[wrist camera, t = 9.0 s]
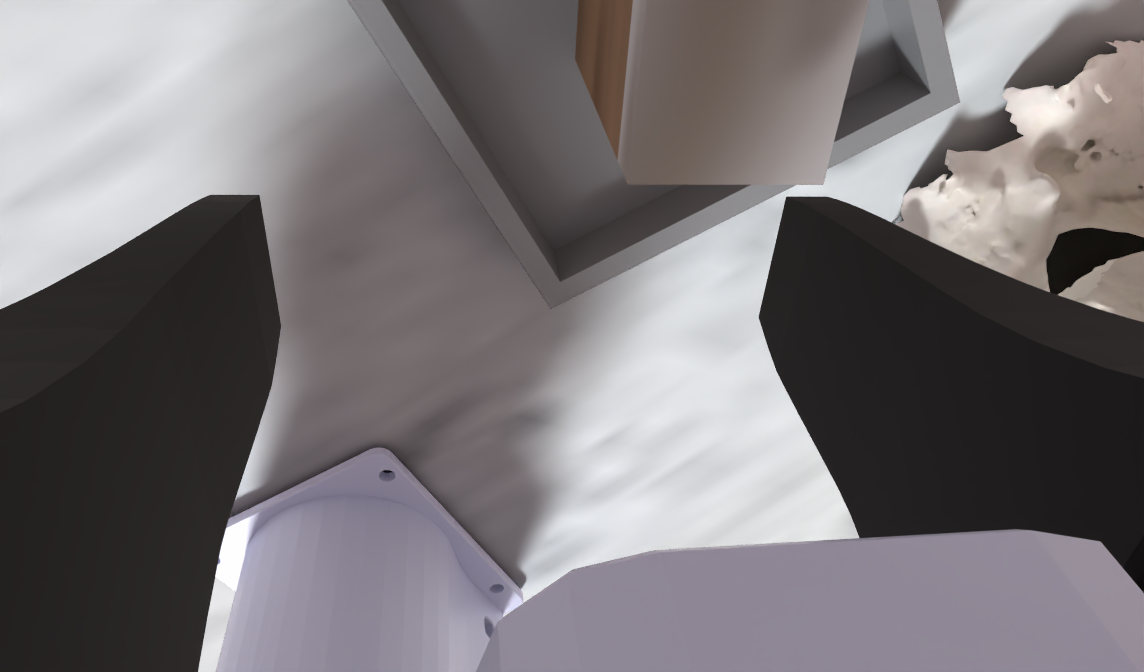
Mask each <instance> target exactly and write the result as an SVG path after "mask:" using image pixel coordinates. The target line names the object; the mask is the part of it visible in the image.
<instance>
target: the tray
mask: <svg viewBox="0 0 1144 672" xmlns="http://www.w3.org/2000/svg"><path fill="white" fill-rule="evenodd" d="M347 1H348V2H349V4H350V5H351V7H352V8H353V10H354V11H355V13H356V14H357V16H358V17H359V19H360V20H361V22H362V23H363V25H364V26H365V28H366V29H367V31H368V32H369V34H370V35H371V37H372V38H373V40H374V42H375V43H376V45H377V46H378V48H379V49H380V51H381V52H382V54H383V55H384V57H385V58H386V60H387V61H388V63H389V64H390V66H391V67H392V69H393V70H394V72H395V73H396V75H397V76H398V78H399V79H400V81H401V82H402V84H403V86H404V87H405V89H406V90H407V92H408V93H409V95H410V96H411V98H412V99H413V101H414V102H415V104H416V105H417V107H418V108H419V110H420V111H421V113H422V114H423V116H424V117H425V119H426V120H427V122H428V123H429V125H430V126H431V128H432V130H433V131H434V133H435V134H436V136H437V137H438V139H439V140H440V142H441V143H442V145H443V146H444V148H445V149H446V151H447V152H448V154H449V155H450V157H451V158H452V160H453V161H454V163H455V164H456V166H457V167H458V169H459V170H460V172H461V174H462V175H463V177H464V178H465V180H466V181H467V183H468V184H469V186H470V187H471V189H472V190H473V192H474V193H475V195H476V196H477V198H478V199H479V201H480V202H481V204H482V205H483V207H484V208H485V210H486V211H487V213H488V214H489V216H490V218H491V219H492V221H493V222H494V224H495V225H496V227H497V228H498V230H499V231H500V233H501V234H502V236H503V237H504V239H505V240H506V242H507V243H508V245H509V246H510V248H511V249H512V251H513V252H514V254H515V255H516V257H517V258H518V260H519V262H520V263H521V265H522V266H523V268H524V269H525V271H526V272H527V274H528V275H529V277H530V278H531V280H532V281H533V283H534V284H535V286H536V287H537V289H538V290H539V292H540V293H541V295H542V296H543V298H544V299H545V301H546V302H547V304H548V306H549V307H550V309H551V308H553V307H555V306H557V305H559V304H561V303H563V302H565V301H567V300H569V299H571V298H573V297H575V296H577V295H579V294H581V293H583V292H585V291H587V290H589V289H591V288H593V287H595V286H597V285H599V284H601V283H603V282H605V281H607V280H609V279H611V278H613V277H615V276H617V275H619V274H621V273H623V272H625V271H627V270H629V269H631V268H633V267H634V266H636V265H638V264H640V263H642V262H644V261H646V260H648V259H650V258H652V257H654V256H656V255H658V254H660V253H662V252H664V251H666V250H668V249H670V248H672V247H674V246H676V245H678V244H680V243H682V242H684V241H686V240H688V239H690V238H692V237H694V236H696V235H698V234H700V233H702V232H704V231H706V230H708V229H710V228H712V227H714V226H716V225H718V224H720V223H722V222H724V221H726V220H728V219H730V218H732V217H734V216H736V215H738V214H740V213H742V212H744V211H746V210H747V209H749V208H751V207H753V206H755V205H757V204H759V203H761V202H763V201H765V200H767V199H769V198H771V197H773V196H775V195H777V194H779V193H781V192H783V191H785V190H787V189H789V188H791V187H793V186H795V185H628V184H627V182H626V180H625V177H624V175H623V173H622V170H621V168H620V165H619V163H618V161H617V158H616V156H615V153H614V151H613V149H612V146H611V144H610V142H609V139H608V137H607V134H606V132H605V130H604V127H603V125H602V123H601V120H600V118H599V115H598V113H597V111H596V108H595V106H594V103H593V101H592V99H591V96H590V94H589V92H588V89H587V87H586V84H585V82H584V80H583V77H582V75H581V73H580V70H579V68H578V65H577V63H576V61H575V51H576V35H577V18H578V1H579V0H347ZM958 103H960V100H959V95H958V91H957V86H956V82H955V77H954V73H953V68H952V64H951V59H950V55H949V51H948V46H947V42H946V37H945V33H944V28H943V24H942V19H941V15H940V10H939V6H938V1H937V0H869V4H868V8H867V12H866V16H865V20H864V24H863V28H862V32H861V36H860V40H859V44H858V48H857V52H856V56H855V60H854V64H853V68H852V72H851V76H850V80H849V84H848V88H847V92H846V96H845V100H844V104H843V108H842V112H841V116H840V120H839V124H838V128H837V132H836V136H835V140H834V144H833V148H832V152H831V156H830V160H829V163H828V167H827V169H829V168H831V167H833V166H835V165H837V164H839V163H841V162H843V161H845V160H847V159H849V158H851V157H853V156H855V155H857V154H859V153H861V152H862V151H864V150H866V149H868V148H870V147H872V146H874V145H876V144H878V143H880V142H882V141H884V140H886V139H888V138H890V137H892V136H894V135H896V134H898V133H900V132H902V131H904V130H906V129H908V128H910V127H912V126H914V125H916V124H918V123H920V122H922V121H924V120H926V119H928V118H930V117H932V116H934V115H936V114H938V113H940V112H942V111H944V110H946V109H948V108H950V107H952V106H954V105H956V104H958Z"/></svg>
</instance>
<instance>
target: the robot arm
mask: <svg viewBox="0 0 1144 672" xmlns="http://www.w3.org/2000/svg"><path fill="white" fill-rule="evenodd" d="M759 320H760V323H761V326H762V329H763V332H764V336H765V339H766V342H767V345H768V348H769V351H770V354H771V357H772V360H773V362H774V365H775V368H776V371H777V373H778V375H779V377H780V379H781V381H782V383H783V385H784V387H785V389H786V391H787V393H788V395H789V396H790V398H791V400H792V402H793V404H794V406H795V408H796V410H797V412H798V414H799V416H800V418H801V419H802V421H803V423H804V425H805V427H806V429H807V431H808V432H809V434H810V436H811V438H812V440H813V442H814V444H815V446H816V447H817V449H818V451H819V453H820V455H821V457H822V459H823V461H824V462H825V464H826V466H827V468H828V470H829V472H830V474H831V476H832V477H833V479H834V481H835V483H836V485H837V487H838V489H839V491H840V493H841V495H842V497H843V499H844V502H845V504H846V506H847V508H848V510H849V512H850V514H851V517H852V519H853V522H854V524H855V527H856V530H857V532H858V535H859V537H860V538H857V539H840V540H823V541H806V542H789V543H772V544H754V545H737V546H720V547H703V548H686V549H669V550H654V551H649V552H645V553H641V554H637V555H632V556H628V557H624V558H620V559H615V560H611V561H607V562H603V563H599V564H594V565H590V566H586V567H582V568H577V569H573V570H571V571H570V572H568V573H567V574H565V575H564V576H562V577H561V578H560V579H558V580H557V581H555V582H554V583H552V584H551V585H549V586H548V587H546V588H545V589H544V590H542V591H541V592H539V593H538V594H536V595H535V596H533V597H532V598H530V599H529V600H527V601H526V602H525V603H523V593H522V591H521V589H520V588H519V587H518V586H517V585H516V584H515V583H514V582H513V581H512V580H511V579H510V578H509V577H508V576H507V575H506V573H505V572H504V571H503V570H502V569H501V568H500V567H499V566H498V565H497V564H496V563H495V562H494V561H493V560H492V559H491V557H490V556H489V555H488V554H487V553H486V552H485V551H484V550H483V549H482V548H481V547H480V546H479V545H478V544H477V543H476V542H475V540H474V539H473V538H472V537H471V536H470V535H469V534H468V533H467V532H466V531H465V530H464V529H463V528H462V527H461V526H460V525H459V523H458V522H457V521H456V520H455V519H454V518H453V517H452V516H451V515H450V514H449V513H448V512H447V511H446V510H445V509H444V507H443V506H442V505H441V504H440V503H439V502H438V501H437V500H436V499H435V498H434V497H433V496H432V495H431V494H430V493H429V492H428V490H427V489H426V488H425V487H424V486H423V485H422V484H421V483H420V482H419V481H418V480H417V479H416V478H415V477H414V476H413V475H412V473H411V472H410V471H409V470H408V469H407V468H406V467H405V466H404V465H403V464H402V463H401V462H400V461H399V460H398V459H397V457H396V456H395V455H394V454H393V453H392V452H390V451H389V450H388V449H384V448H373V449H369V450H367V451H365V452H363V453H361V454H359V455H357V456H355V457H353V458H351V459H349V460H347V461H345V462H343V463H341V464H339V465H337V466H335V467H333V468H331V469H329V470H327V471H325V472H323V473H321V474H319V475H317V476H315V477H313V478H311V479H309V480H306V481H304V482H302V483H300V484H298V485H296V486H294V487H292V488H290V489H288V490H286V491H284V492H282V493H280V494H278V495H276V496H274V497H272V498H270V499H268V500H266V501H264V502H262V503H260V504H258V505H256V506H254V507H252V508H250V509H248V510H245V511H243V512H241V513H239V514H237V515H235V516H233V517H231V518H229V516H230V513H231V510H232V507H233V504H234V501H235V498H236V495H237V492H238V489H239V486H240V483H241V479H242V476H243V473H244V470H245V467H246V464H247V461H248V458H249V455H250V452H251V449H252V446H253V443H254V440H255V437H256V434H257V431H258V427H259V424H260V421H261V418H262V415H263V412H264V409H265V405H266V402H267V399H268V396H269V392H270V389H271V386H272V381H273V375H274V369H275V363H276V357H277V350H278V343H279V336H280V329H281V323H280V317H279V311H278V305H277V299H276V293H275V287H274V281H273V275H272V269H271V262H270V256H269V250H268V244H267V238H266V232H265V226H264V220H263V214H262V208H261V202H260V196H259V195H209V196H207V197H204V198H202V199H200V200H198V201H196V202H194V203H192V204H190V205H189V206H187V207H185V208H183V209H182V210H180V211H178V212H177V213H175V214H173V215H172V216H170V217H168V218H167V219H165V220H164V221H162V222H160V223H159V224H157V225H155V226H154V227H152V228H150V229H149V230H147V231H146V232H144V233H142V234H141V235H139V236H137V237H136V238H134V239H132V240H131V241H129V242H127V243H126V244H124V245H123V246H121V247H119V248H118V249H116V250H114V251H113V252H111V253H109V254H107V255H106V256H104V257H102V258H100V259H98V260H96V261H95V262H93V263H91V264H89V265H87V266H85V267H84V268H82V269H80V270H78V271H76V272H74V273H73V274H71V275H69V276H67V277H65V278H63V279H62V280H60V281H58V282H56V283H54V284H52V285H51V286H49V287H47V288H45V289H43V290H41V291H39V292H37V293H35V294H33V295H31V296H29V297H26V298H24V299H22V300H20V301H18V302H16V303H14V304H11V305H9V306H7V307H5V308H2V309H0V672H198V668H199V662H200V656H201V650H202V645H203V639H204V633H205V628H206V622H207V616H208V611H209V606H210V601H211V596H212V591H213V585H214V580H215V576H216V577H217V578H218V579H220V580H221V581H222V582H224V583H225V584H226V585H228V586H229V587H230V588H231V589H233V590H234V591H235V596H234V600H233V604H232V608H231V612H230V616H229V620H228V624H227V628H226V632H225V636H224V640H223V644H222V648H221V652H220V656H219V660H218V664H217V668H216V672H1144V322H1141V321H1138V320H1134V319H1130V318H1127V317H1124V316H1120V315H1117V314H1114V313H1110V312H1107V311H1104V310H1100V309H1097V308H1094V307H1091V306H1088V305H1085V304H1083V303H1080V302H1077V301H1074V300H1071V299H1068V298H1065V297H1062V296H1059V295H1056V294H1053V293H1051V292H1048V291H1045V290H1042V289H1040V288H1037V287H1034V286H1032V285H1029V284H1026V283H1024V282H1021V281H1019V280H1016V279H1014V278H1012V277H1009V276H1007V275H1005V274H1002V273H1000V272H997V271H995V270H993V269H990V268H988V267H986V266H983V265H981V264H979V263H976V262H974V261H972V260H970V259H967V258H965V257H963V256H961V255H959V254H956V253H954V252H952V251H950V250H948V249H946V248H943V247H941V246H939V245H937V244H935V243H933V242H931V241H929V240H927V239H924V238H922V237H920V236H918V235H916V234H914V233H912V232H910V231H908V230H906V229H904V228H902V227H899V226H897V225H895V224H893V223H891V222H889V221H887V220H885V219H883V218H881V217H878V216H876V215H874V214H872V213H870V212H867V211H865V210H863V209H860V208H858V207H856V206H853V205H851V204H848V203H846V202H843V201H840V200H837V199H833V198H830V197H786V200H785V205H784V209H783V213H782V218H781V222H780V226H779V231H778V235H777V239H776V244H775V248H774V253H773V257H772V261H771V266H770V270H769V274H768V279H767V283H766V288H765V292H764V296H763V301H762V305H761V309H760V314H759ZM384 470H391V471H393V472H391V473H384V472H382V471H384ZM495 584H497V585H495ZM522 603H523V604H522ZM521 604H522V605H521ZM512 610H513V611H512ZM509 611H511V612H510V613H509V614H507V615H506V616H505V617H503V614H505V613H507V612H509Z"/></svg>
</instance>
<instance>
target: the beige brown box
mask: <svg viewBox="0 0 1144 672" xmlns="http://www.w3.org/2000/svg"><path fill="white" fill-rule="evenodd" d="M868 4H869V0H579V1H578V18H577V35H576V51H575V61H576V63H577V65H578V68H579V70H580V73H581V75H582V77H583V80H584V82H585V84H586V87H587V89H588V92H589V94H590V96H591V99H592V101H593V103H594V106H595V108H596V111H597V113H598V115H599V118H600V120H601V123H602V125H603V127H604V130H605V132H606V134H607V137H608V139H609V142H610V144H611V146H612V149H613V151H614V153H615V156H616V158H617V161H618V163H619V165H620V168H621V170H622V173H623V175H624V177H625V180H626V182H627V184H628V185H823V183H824V179H825V175H826V171H827V167H828V163H829V160H830V156H831V152H832V148H833V144H834V140H835V136H836V132H837V128H838V124H839V120H840V116H841V112H842V108H843V104H844V100H845V96H846V92H847V88H848V84H849V80H850V76H851V72H852V68H853V64H854V60H855V56H856V52H857V48H858V44H859V40H860V36H861V32H862V28H863V24H864V20H865V16H866V12H867V8H868Z"/></svg>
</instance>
